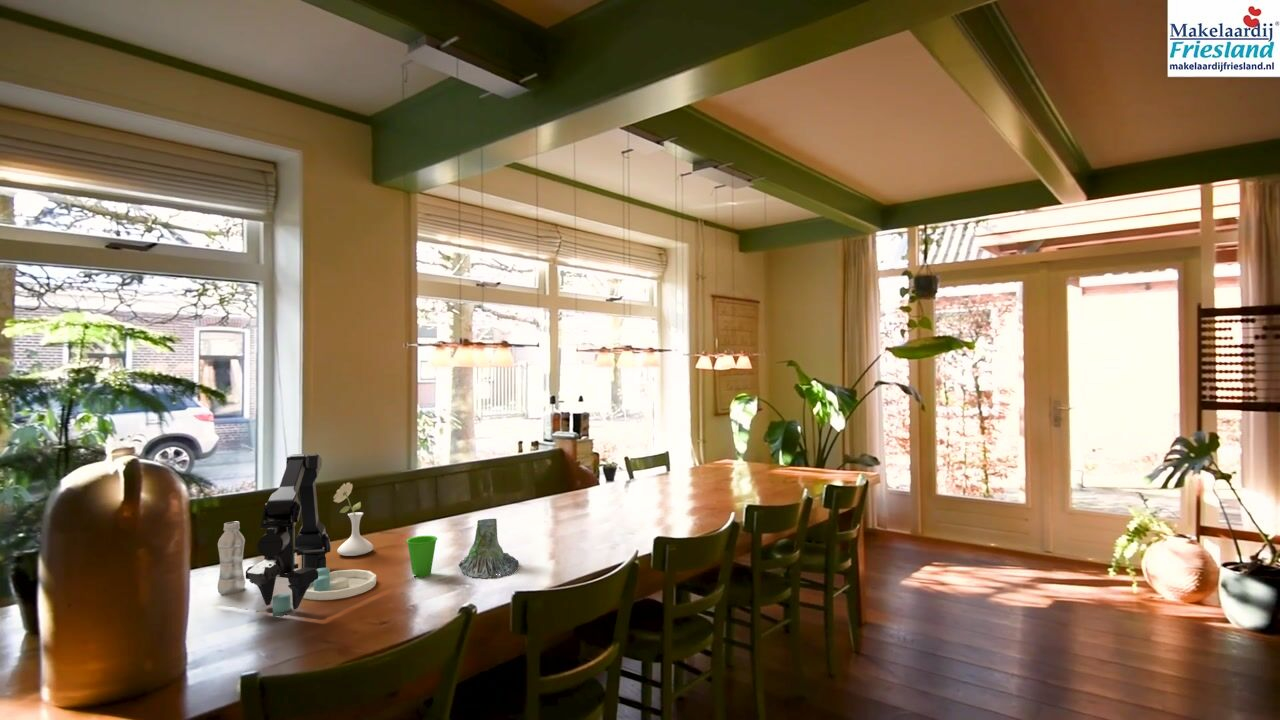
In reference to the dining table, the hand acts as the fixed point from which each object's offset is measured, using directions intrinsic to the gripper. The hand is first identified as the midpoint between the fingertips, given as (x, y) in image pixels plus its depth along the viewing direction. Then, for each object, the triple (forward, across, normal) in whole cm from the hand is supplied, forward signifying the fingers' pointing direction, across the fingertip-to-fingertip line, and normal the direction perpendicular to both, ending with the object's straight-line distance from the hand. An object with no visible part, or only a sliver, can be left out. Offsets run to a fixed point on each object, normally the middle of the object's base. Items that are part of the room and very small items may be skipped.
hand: (281, 606), depth 165 cm
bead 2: (+1, +1, +12) cm, 12 cm away
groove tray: (+2, +1, +18) cm, 18 cm away
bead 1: (+2, 0, 0) cm, 2 cm away
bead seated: (+1, -5, +18) cm, 19 cm away
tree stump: (+2, +31, +49) cm, 58 cm away
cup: (+2, +15, +37) cm, 40 cm away
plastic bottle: (+2, -26, +7) cm, 27 cm away
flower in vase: (+2, -22, +49) cm, 54 cm away
